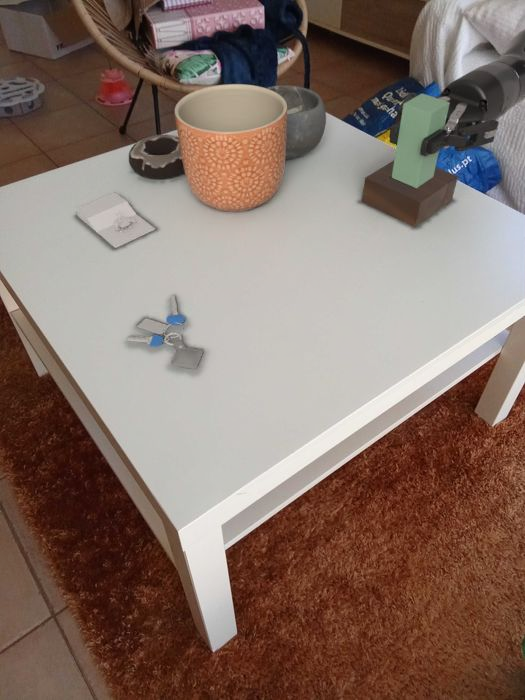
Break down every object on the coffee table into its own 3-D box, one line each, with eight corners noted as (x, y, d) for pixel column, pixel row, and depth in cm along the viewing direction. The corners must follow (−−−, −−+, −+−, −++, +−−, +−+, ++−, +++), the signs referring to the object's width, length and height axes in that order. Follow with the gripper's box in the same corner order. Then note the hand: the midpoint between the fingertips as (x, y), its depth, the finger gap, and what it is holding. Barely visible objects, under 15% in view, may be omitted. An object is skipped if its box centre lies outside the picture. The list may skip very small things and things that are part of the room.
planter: (166, 209, 94) (152, 119, 82) (217, 162, 104) (210, 76, 93) (258, 234, 88) (255, 142, 77) (302, 182, 98) (305, 94, 87)
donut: (145, 148, 108) (142, 128, 105) (203, 154, 106) (201, 134, 103) (120, 179, 100) (115, 158, 97) (182, 187, 98) (179, 165, 95)
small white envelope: (116, 198, 96) (113, 185, 94) (155, 229, 90) (153, 215, 88) (77, 215, 93) (73, 202, 91) (115, 248, 86) (111, 234, 85)
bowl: (238, 138, 110) (236, 85, 103) (313, 130, 112) (315, 78, 104) (251, 176, 100) (249, 121, 93) (332, 168, 102) (336, 113, 94)
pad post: (408, 166, 78) (422, 93, 71) (433, 176, 76) (450, 102, 69) (391, 177, 76) (403, 103, 69) (416, 188, 74) (431, 113, 67)
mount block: (399, 177, 99) (403, 153, 96) (452, 200, 94) (458, 175, 90) (361, 202, 94) (364, 177, 91) (415, 227, 89) (420, 202, 85)
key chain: (210, 365, 69) (209, 361, 69) (145, 387, 67) (144, 383, 66) (175, 297, 78) (174, 293, 77) (116, 314, 76) (115, 310, 75)
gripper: (440, 57, 79) (365, 95, 71) (537, 85, 72) (465, 131, 64) (430, 110, 85) (359, 151, 76) (518, 140, 78) (450, 190, 69)
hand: (408, 142), depth 70 cm, fingers closed on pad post, 4 cm apart
